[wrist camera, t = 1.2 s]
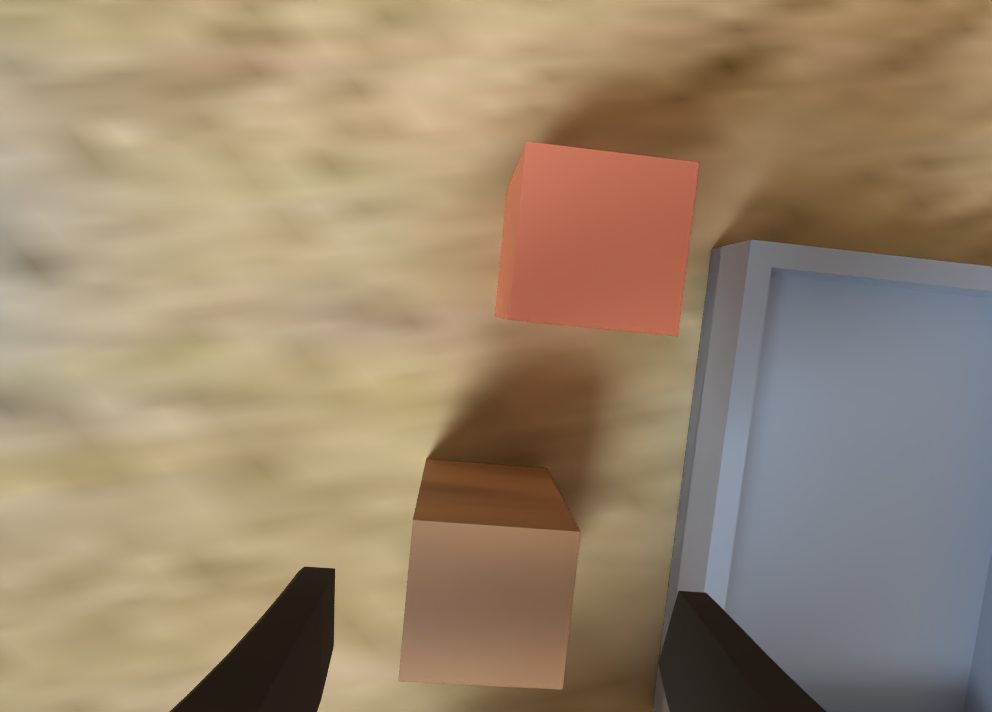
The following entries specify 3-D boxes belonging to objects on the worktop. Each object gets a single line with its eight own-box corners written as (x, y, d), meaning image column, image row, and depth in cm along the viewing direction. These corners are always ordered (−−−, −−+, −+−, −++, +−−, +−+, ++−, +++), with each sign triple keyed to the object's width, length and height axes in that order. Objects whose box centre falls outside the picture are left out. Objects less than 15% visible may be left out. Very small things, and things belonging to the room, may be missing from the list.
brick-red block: (615, 327, 21) (677, 336, 15) (494, 316, 20) (508, 319, 14) (629, 204, 20) (699, 162, 14) (506, 191, 20) (526, 141, 14)
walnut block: (533, 582, 21) (562, 689, 15) (415, 575, 21) (398, 681, 15) (546, 467, 21) (580, 531, 15) (426, 458, 21) (412, 519, 15)
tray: (959, 722, 23) (1029, 779, 20) (652, 707, 22) (680, 765, 19) (1036, 284, 21) (1122, 280, 19) (711, 248, 21) (751, 239, 18)
